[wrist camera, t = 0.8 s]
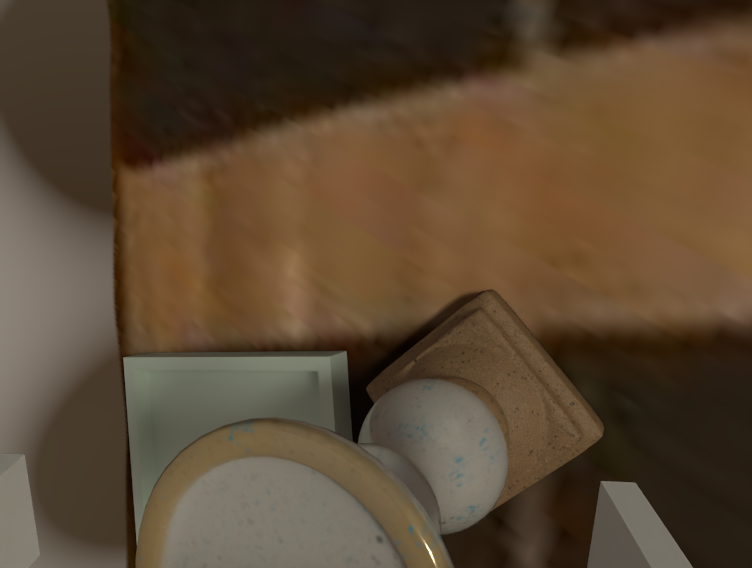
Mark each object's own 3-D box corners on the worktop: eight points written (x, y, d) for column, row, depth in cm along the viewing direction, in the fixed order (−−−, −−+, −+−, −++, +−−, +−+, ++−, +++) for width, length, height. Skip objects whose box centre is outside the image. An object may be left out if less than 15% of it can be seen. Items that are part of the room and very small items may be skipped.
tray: (146, 352, 48) (123, 357, 46) (346, 350, 40) (330, 356, 38) (162, 573, 48) (140, 589, 46) (364, 613, 41) (348, 634, 38)
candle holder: (372, 382, 40) (67, 532, 18) (492, 285, 36) (295, 324, 14) (469, 517, 37) (254, 883, 15) (608, 427, 34) (586, 740, 12)
